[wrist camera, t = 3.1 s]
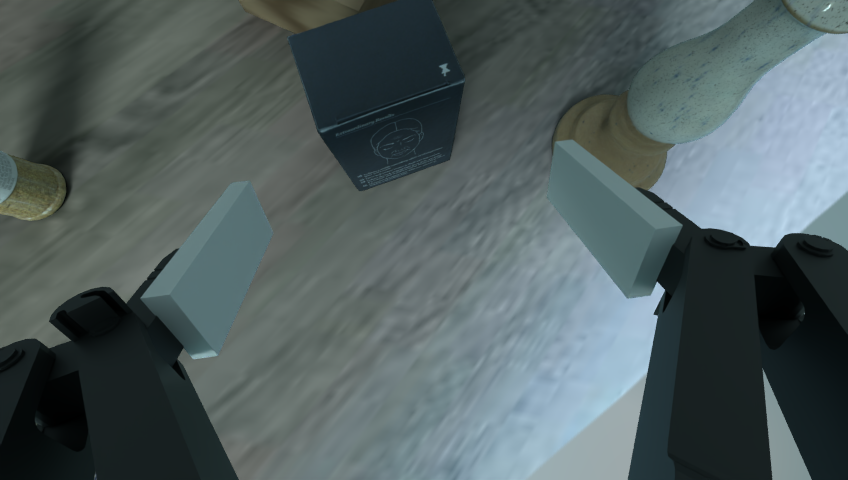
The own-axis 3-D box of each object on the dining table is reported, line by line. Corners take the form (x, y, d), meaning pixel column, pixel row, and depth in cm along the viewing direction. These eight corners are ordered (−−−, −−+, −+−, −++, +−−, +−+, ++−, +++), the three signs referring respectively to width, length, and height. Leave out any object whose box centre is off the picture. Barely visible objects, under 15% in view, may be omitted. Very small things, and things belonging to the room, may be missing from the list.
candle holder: (530, 167, 27) (861, -193, 7) (583, 82, 28) (1005, -451, 8) (627, 225, 26) (1309, 23, 6) (677, 135, 27) (1399, -288, 7)
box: (426, 99, 28) (430, -15, 17) (450, 161, 27) (469, 81, 16) (335, 130, 27) (282, 32, 17) (358, 193, 26) (316, 133, 16)
